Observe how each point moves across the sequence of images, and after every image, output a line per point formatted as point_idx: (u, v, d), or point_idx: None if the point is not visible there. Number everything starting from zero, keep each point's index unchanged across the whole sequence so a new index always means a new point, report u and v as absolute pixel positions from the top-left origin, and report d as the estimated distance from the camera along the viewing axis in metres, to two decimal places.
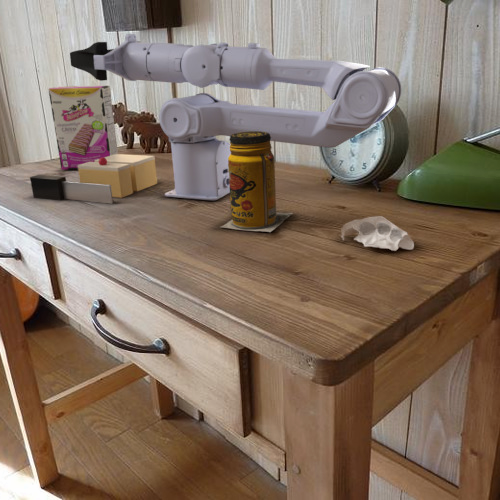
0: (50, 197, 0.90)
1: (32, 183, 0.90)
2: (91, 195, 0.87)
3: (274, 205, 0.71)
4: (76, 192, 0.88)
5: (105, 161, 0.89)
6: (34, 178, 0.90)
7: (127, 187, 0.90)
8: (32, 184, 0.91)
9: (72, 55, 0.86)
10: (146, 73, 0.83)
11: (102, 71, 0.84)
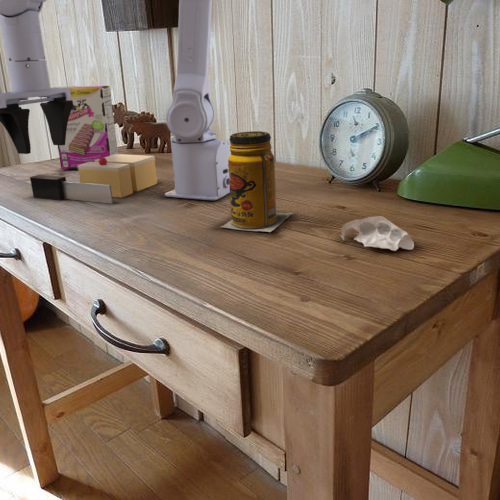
0: (50, 197, 0.90)
1: (32, 183, 0.90)
2: (91, 195, 0.87)
3: (274, 205, 0.71)
4: (76, 192, 0.88)
5: (105, 161, 0.89)
6: (34, 178, 0.90)
7: (127, 187, 0.90)
8: (32, 184, 0.91)
9: (18, 150, 0.85)
10: (22, 63, 0.81)
11: (17, 109, 0.81)
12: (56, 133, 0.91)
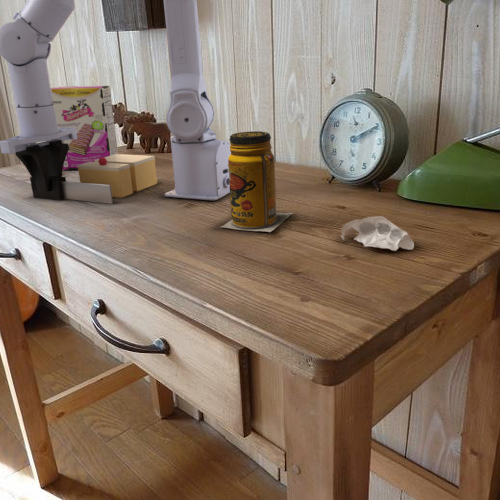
0: (50, 197, 0.90)
1: (32, 183, 0.90)
2: (91, 195, 0.87)
3: (274, 205, 0.71)
4: (76, 192, 0.88)
5: (105, 161, 0.89)
6: None
7: (127, 187, 0.90)
8: (32, 184, 0.91)
9: (38, 188, 0.89)
10: (31, 109, 0.83)
11: (37, 151, 0.86)
12: None
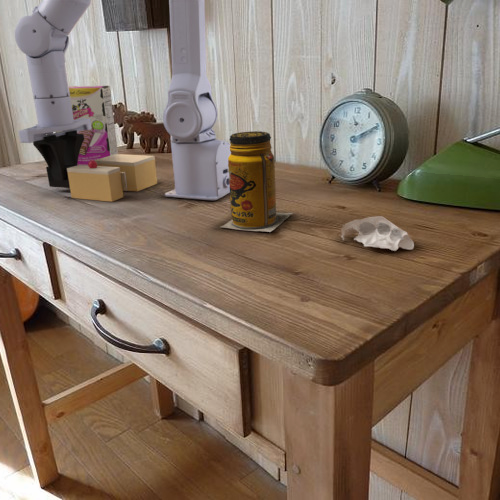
0: (66, 186, 0.93)
1: (48, 172, 0.93)
2: None
3: (274, 205, 0.71)
4: None
5: (95, 164, 0.87)
6: None
7: (117, 191, 0.88)
8: (48, 173, 0.93)
9: (54, 177, 0.92)
10: (48, 100, 0.86)
11: (54, 140, 0.88)
12: None
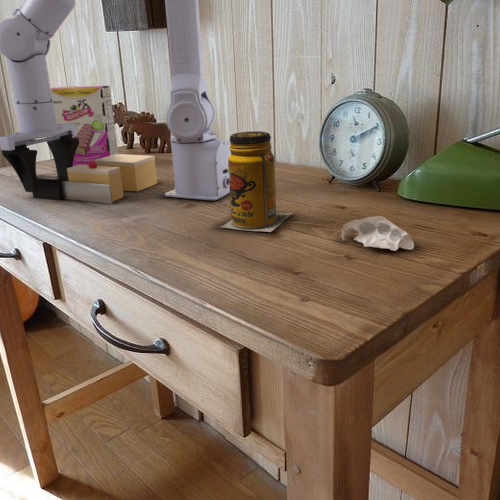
0: (50, 197, 0.90)
1: None
2: (91, 195, 0.87)
3: (274, 205, 0.71)
4: (76, 192, 0.88)
5: (95, 164, 0.87)
6: None
7: (117, 191, 0.88)
8: None
9: (26, 188, 0.87)
10: (30, 106, 0.83)
11: (25, 150, 0.83)
12: (62, 169, 0.93)
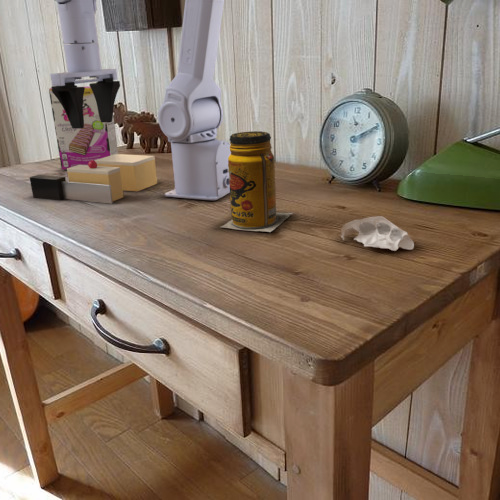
0: (50, 197, 0.90)
1: (32, 183, 0.90)
2: (91, 195, 0.87)
3: (274, 205, 0.71)
4: (76, 192, 0.88)
5: (95, 164, 0.87)
6: (34, 178, 0.90)
7: (117, 191, 0.88)
8: (32, 184, 0.91)
9: (72, 125, 0.93)
10: (78, 45, 0.89)
11: (73, 87, 0.90)
12: (104, 111, 0.99)
